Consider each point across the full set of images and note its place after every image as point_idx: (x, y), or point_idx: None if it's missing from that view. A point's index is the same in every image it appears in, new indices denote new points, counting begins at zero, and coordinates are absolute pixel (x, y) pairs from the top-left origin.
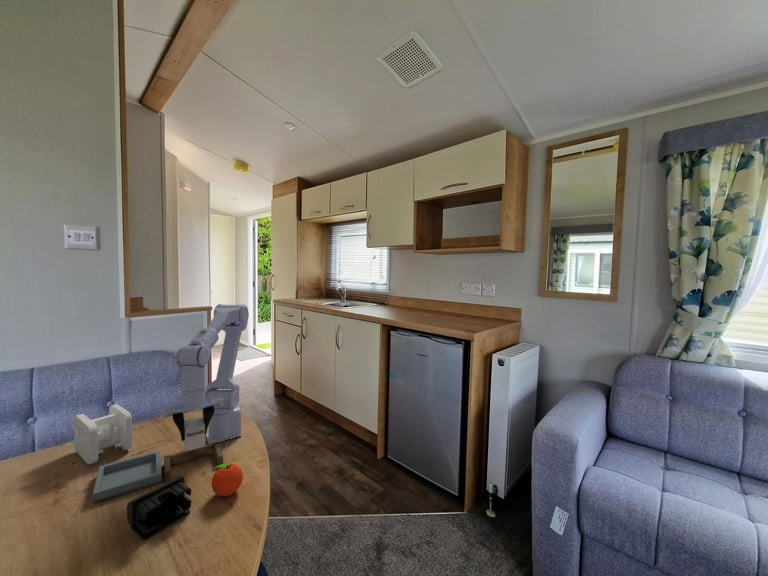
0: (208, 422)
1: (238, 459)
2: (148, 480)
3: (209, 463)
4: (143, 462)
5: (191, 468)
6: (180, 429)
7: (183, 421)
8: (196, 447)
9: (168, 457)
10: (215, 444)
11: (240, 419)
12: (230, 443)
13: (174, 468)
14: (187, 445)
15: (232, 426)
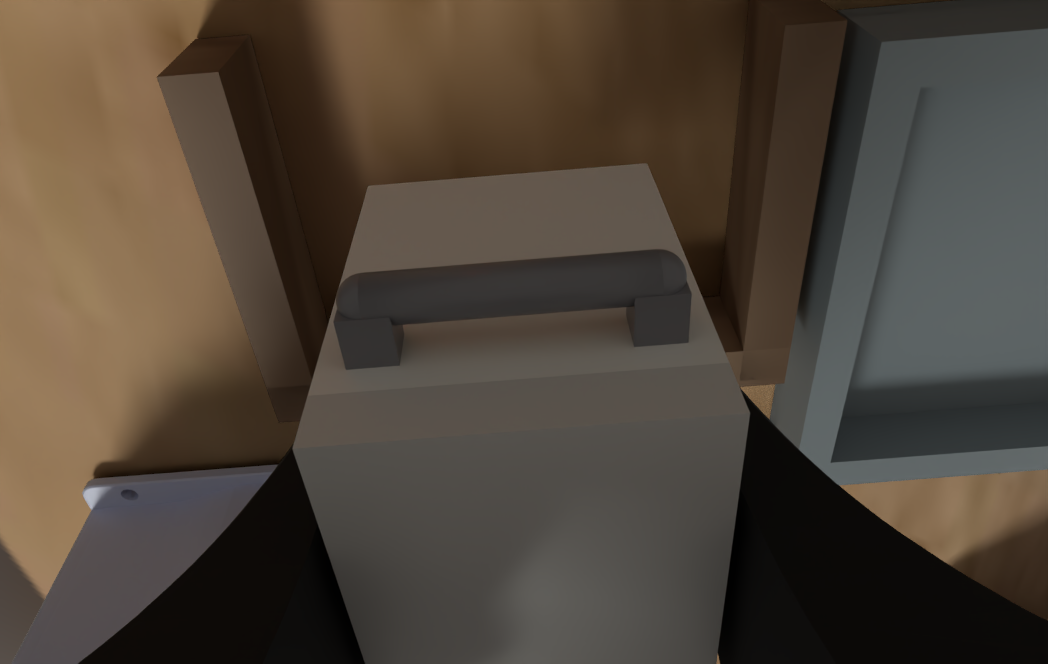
0: (231, 539)
1: (18, 62)
2: (996, 19)
3: (358, 147)
4: (900, 415)
5: (538, 142)
6: (811, 489)
7: (841, 642)
8: (490, 183)
9: (753, 341)
10: (294, 380)
11: (23, 650)
12: (181, 415)
13: (686, 226)
14: (632, 208)
15: (133, 589)
